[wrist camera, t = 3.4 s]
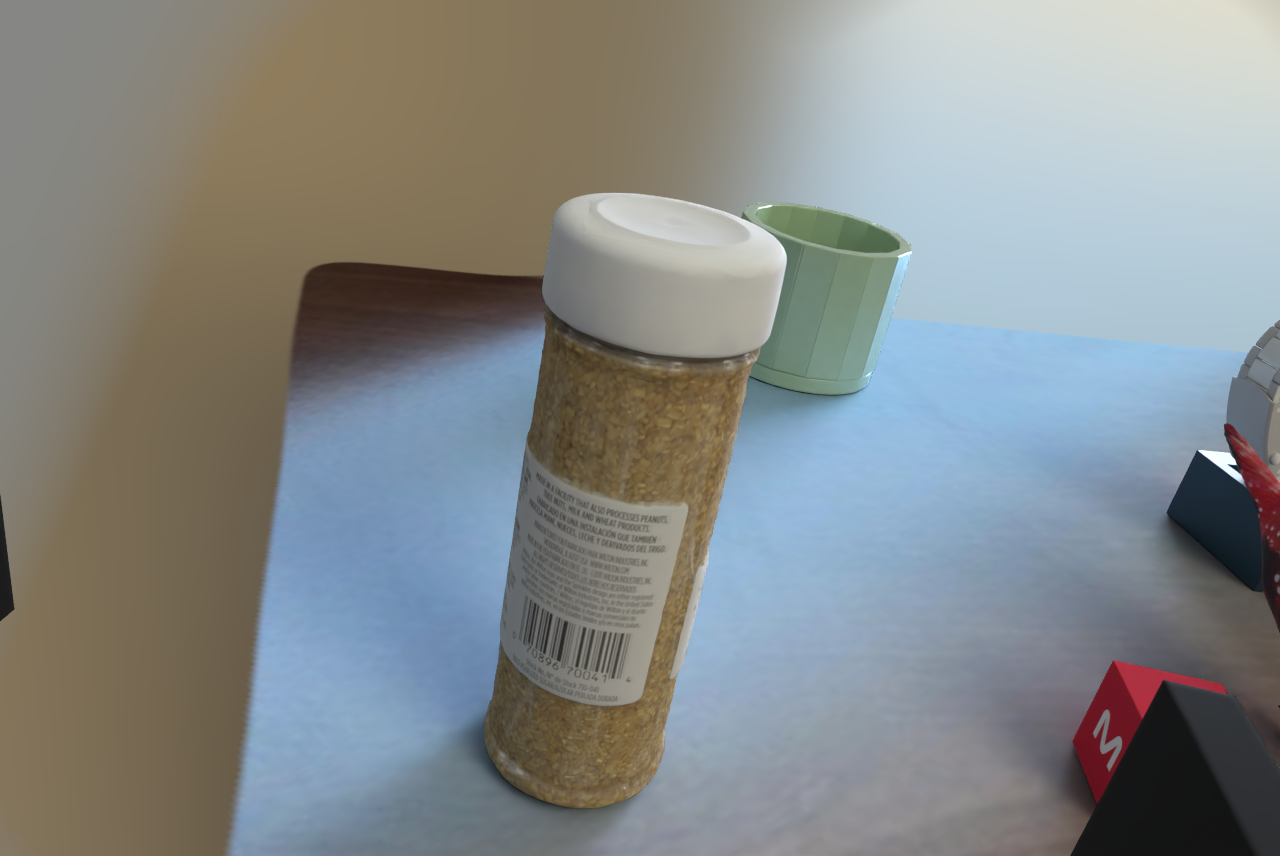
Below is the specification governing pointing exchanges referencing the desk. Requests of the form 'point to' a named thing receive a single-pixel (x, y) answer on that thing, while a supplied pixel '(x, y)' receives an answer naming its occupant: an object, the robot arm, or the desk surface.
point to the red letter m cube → (1120, 717)
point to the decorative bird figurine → (1261, 512)
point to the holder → (828, 297)
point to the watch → (1236, 468)
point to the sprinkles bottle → (622, 484)
